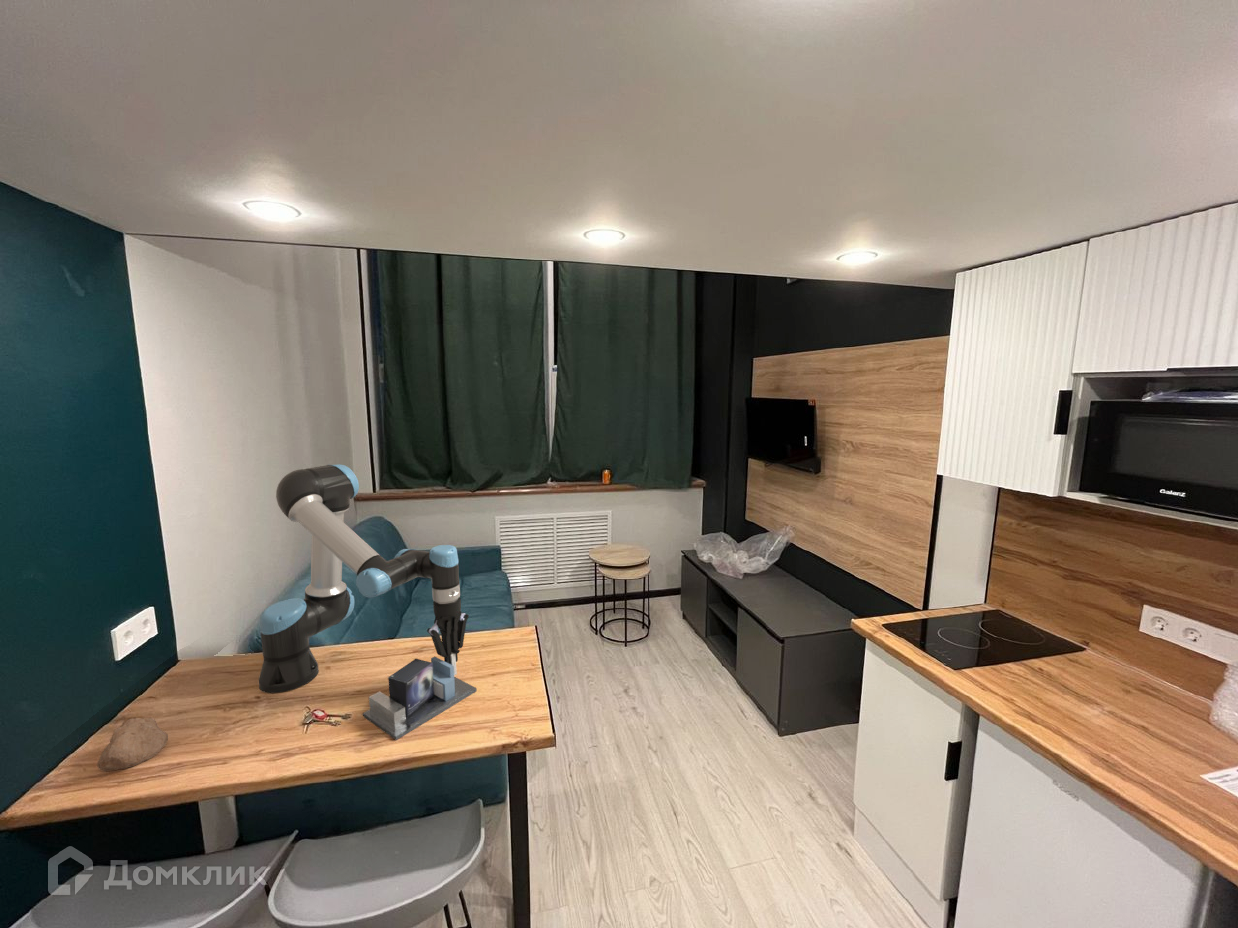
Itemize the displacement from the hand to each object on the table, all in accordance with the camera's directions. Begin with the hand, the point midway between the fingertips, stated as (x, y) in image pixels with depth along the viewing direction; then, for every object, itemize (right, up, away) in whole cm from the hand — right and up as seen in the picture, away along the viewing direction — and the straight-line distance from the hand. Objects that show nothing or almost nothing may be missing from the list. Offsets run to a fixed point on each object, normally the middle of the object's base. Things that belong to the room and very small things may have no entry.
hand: (452, 673), depth 145 cm
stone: (-66, -8, -27) cm, 72 cm away
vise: (-6, -5, -9) cm, 12 cm away
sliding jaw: (-3, -3, -4) cm, 6 cm away
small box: (-7, -4, -10) cm, 13 cm away
